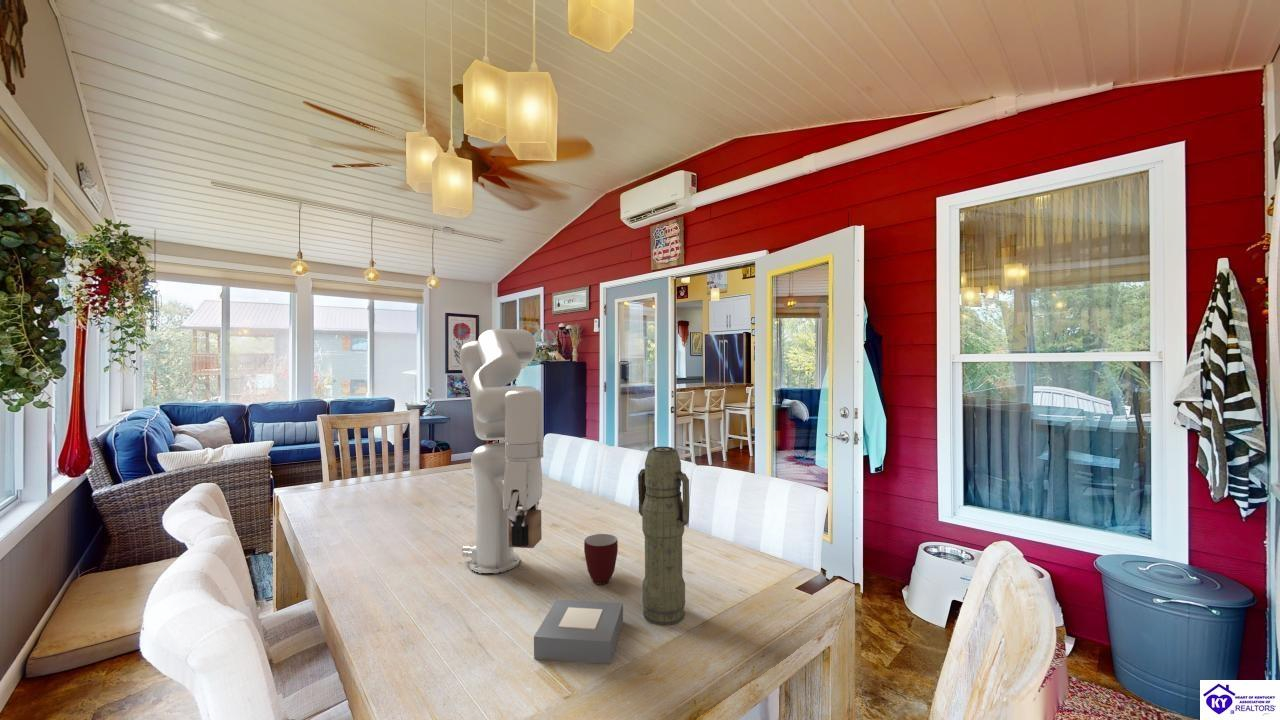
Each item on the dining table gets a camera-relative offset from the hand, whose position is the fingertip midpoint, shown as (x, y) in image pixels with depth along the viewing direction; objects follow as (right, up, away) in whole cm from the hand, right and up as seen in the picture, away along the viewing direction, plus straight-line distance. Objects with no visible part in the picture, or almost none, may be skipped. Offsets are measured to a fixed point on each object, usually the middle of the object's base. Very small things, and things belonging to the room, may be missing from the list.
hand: (525, 539), depth 101 cm
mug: (+14, -17, +21) cm, 31 cm away
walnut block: (0, -1, 0) cm, 1 cm away
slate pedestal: (+12, -18, -5) cm, 22 cm away
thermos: (+28, -18, +4) cm, 33 cm away
